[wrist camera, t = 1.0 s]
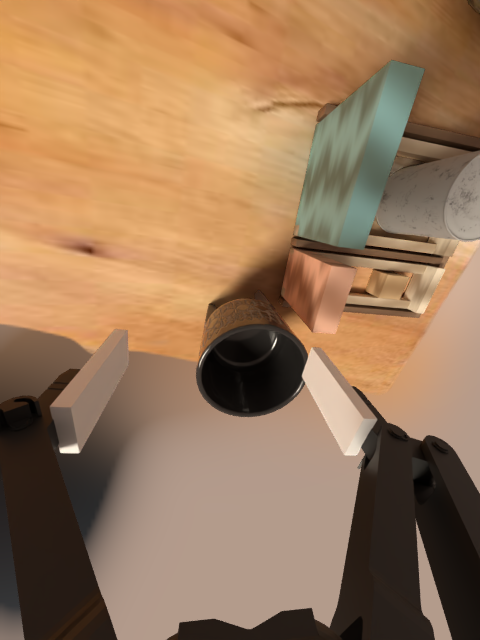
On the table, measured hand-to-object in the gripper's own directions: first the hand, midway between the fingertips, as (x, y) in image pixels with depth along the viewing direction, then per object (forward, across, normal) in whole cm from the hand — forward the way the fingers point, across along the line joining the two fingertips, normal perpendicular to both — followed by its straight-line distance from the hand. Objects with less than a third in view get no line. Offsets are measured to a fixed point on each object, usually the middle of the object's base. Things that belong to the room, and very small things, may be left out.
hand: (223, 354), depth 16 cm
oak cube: (+24, +29, +3) cm, 38 cm away
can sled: (+24, +24, +16) cm, 37 cm away
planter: (+24, +5, -7) cm, 26 cm away
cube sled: (+24, +24, +2) cm, 34 cm away
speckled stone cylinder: (+24, +28, +16) cm, 40 cm away
